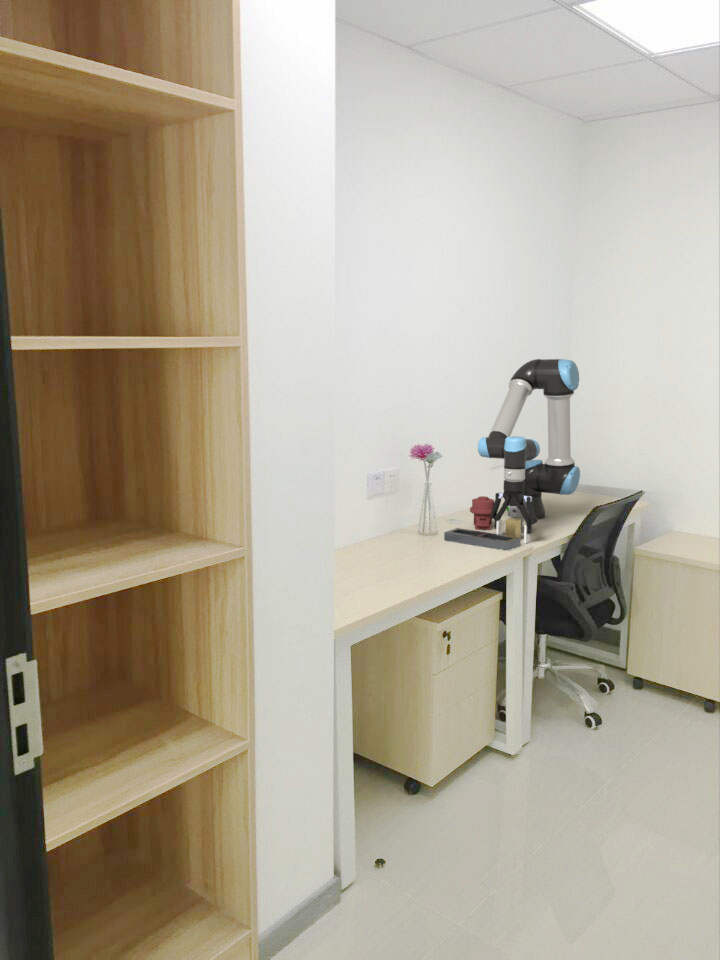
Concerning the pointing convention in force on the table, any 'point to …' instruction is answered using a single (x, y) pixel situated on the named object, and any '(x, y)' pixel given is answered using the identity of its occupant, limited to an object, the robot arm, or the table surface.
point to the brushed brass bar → (513, 527)
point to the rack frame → (482, 539)
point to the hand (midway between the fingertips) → (512, 540)
